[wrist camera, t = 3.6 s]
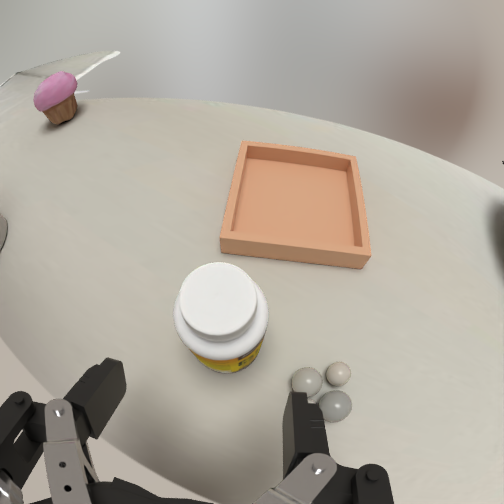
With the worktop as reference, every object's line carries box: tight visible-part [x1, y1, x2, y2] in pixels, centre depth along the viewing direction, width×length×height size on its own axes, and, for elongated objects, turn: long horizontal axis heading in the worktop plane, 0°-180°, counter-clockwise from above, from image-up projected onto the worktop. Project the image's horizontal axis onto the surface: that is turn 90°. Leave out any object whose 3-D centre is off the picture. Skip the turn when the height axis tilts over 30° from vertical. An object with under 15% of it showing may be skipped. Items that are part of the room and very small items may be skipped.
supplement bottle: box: [173, 262, 269, 373], centre depth 18 cm, size 6×6×10 cm
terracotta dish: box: [220, 141, 371, 269], centre depth 29 cm, size 14×14×3 cm
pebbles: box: [292, 362, 352, 422], centre depth 19 cm, size 5×5×3 cm
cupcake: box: [34, 71, 77, 125], centre depth 36 cm, size 9×9×10 cm
